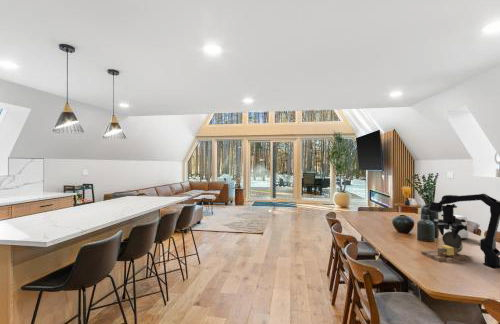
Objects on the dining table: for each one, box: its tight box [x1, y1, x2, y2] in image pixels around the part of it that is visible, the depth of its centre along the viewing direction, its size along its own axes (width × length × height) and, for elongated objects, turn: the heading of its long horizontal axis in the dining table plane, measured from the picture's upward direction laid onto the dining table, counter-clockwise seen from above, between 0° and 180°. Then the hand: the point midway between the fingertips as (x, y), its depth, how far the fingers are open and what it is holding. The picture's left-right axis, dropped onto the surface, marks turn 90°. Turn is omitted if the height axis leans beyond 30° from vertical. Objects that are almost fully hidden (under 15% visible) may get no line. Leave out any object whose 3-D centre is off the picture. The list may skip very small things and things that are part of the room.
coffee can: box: [441, 232, 464, 253], centre depth 178 cm, size 10×10×14 cm
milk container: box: [444, 214, 469, 240], centre depth 220 cm, size 17×17×18 cm
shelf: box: [420, 247, 467, 262], centre depth 173 cm, size 14×20×7 cm
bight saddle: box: [440, 244, 454, 255], centre depth 170 cm, size 5×4×5 cm
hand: (448, 236), depth 176 cm, fingers open, 9 cm apart
